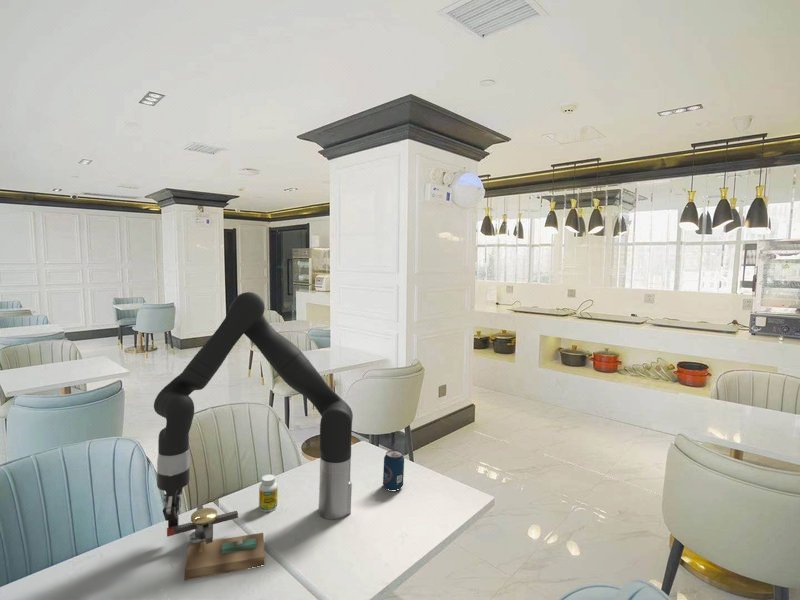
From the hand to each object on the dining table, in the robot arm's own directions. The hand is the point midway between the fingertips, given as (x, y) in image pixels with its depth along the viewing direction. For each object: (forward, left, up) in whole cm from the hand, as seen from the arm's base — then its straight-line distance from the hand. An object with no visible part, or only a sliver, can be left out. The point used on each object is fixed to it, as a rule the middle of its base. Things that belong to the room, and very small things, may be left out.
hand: (173, 529), depth 115 cm
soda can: (-66, -13, -4) cm, 67 cm away
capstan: (-8, +1, -4) cm, 8 cm away
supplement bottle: (-25, -11, -4) cm, 27 cm away
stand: (-14, +11, -4) cm, 18 cm away
